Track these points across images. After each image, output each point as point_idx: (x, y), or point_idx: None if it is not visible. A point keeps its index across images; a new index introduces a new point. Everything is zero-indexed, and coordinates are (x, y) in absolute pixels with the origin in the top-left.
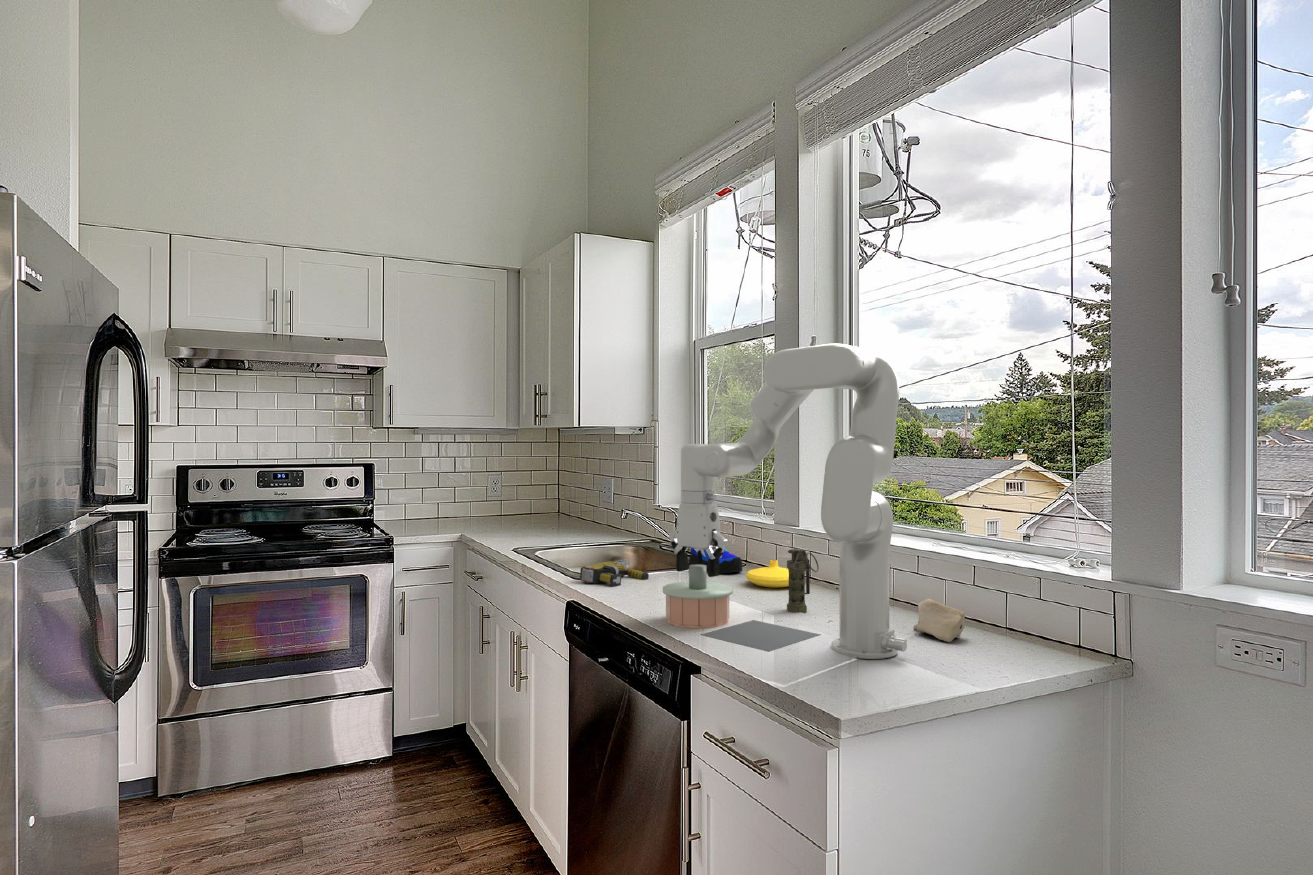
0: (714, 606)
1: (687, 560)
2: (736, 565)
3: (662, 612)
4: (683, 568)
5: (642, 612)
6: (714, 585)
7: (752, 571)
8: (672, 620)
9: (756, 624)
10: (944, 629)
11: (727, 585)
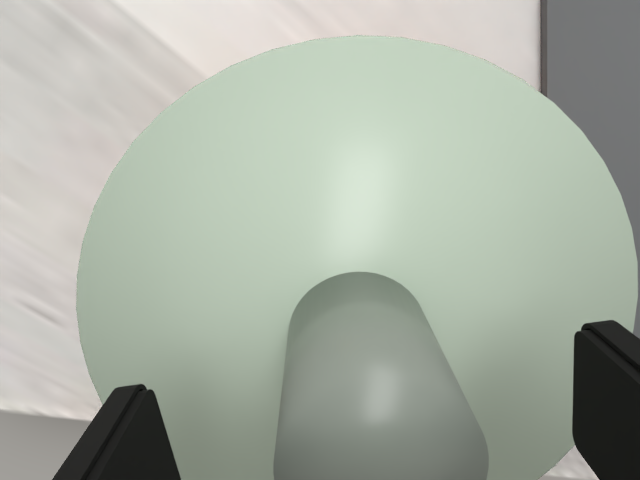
0: None
1: (112, 466)
2: None
3: (63, 263)
4: (162, 453)
5: (16, 339)
6: (364, 165)
7: None
8: None
9: (625, 60)
10: None
11: (440, 64)
